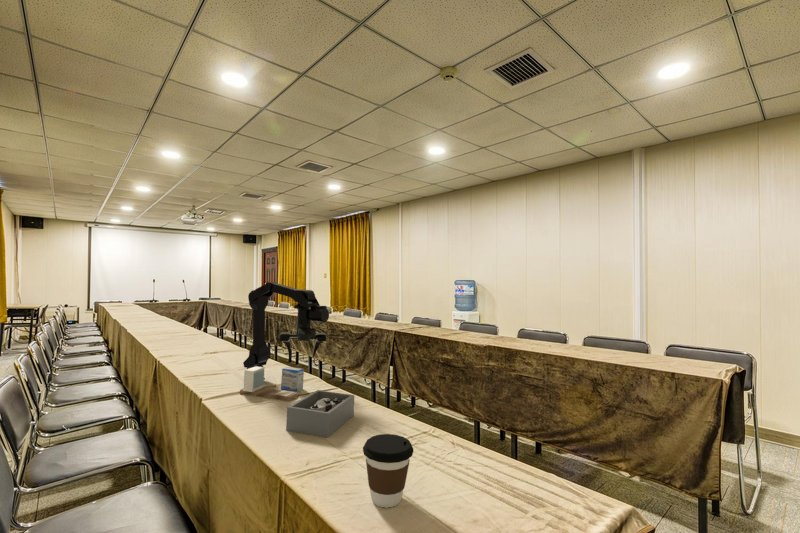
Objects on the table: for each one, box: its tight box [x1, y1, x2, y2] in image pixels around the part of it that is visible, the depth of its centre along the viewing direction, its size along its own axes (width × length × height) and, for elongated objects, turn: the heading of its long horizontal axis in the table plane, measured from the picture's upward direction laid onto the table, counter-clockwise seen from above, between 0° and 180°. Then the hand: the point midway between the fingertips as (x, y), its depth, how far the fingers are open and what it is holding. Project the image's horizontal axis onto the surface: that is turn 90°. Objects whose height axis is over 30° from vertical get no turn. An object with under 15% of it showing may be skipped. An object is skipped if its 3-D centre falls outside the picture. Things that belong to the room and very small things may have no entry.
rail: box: [239, 387, 299, 402], centre depth 148 cm, size 22×6×2 cm, turn 74°
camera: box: [310, 398, 344, 412], centre depth 123 cm, size 13×8×9 cm, turn 140°
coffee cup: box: [362, 433, 414, 509], centre depth 82 cm, size 11×11×12 cm
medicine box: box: [280, 366, 305, 392], centre depth 157 cm, size 8×4×9 cm, turn 73°
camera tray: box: [285, 389, 355, 438], centre depth 123 cm, size 14×19×7 cm
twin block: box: [243, 366, 266, 392], centre depth 150 cm, size 4×7×8 cm, turn 164°
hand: (301, 357), depth 159 cm, fingers open, 9 cm apart
